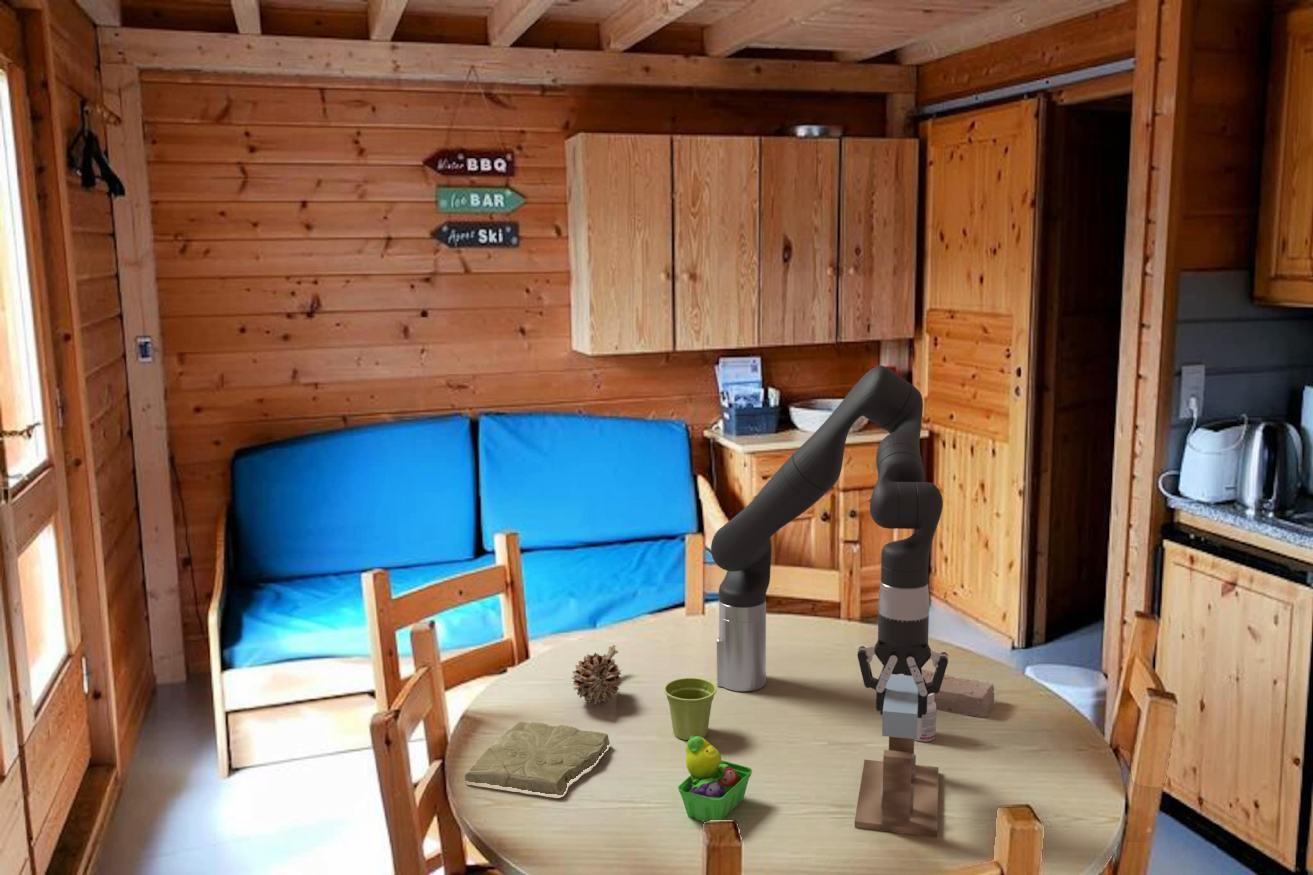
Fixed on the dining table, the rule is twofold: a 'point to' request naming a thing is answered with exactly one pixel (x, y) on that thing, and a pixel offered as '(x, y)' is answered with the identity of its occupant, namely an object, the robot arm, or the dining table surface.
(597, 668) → the pine cone
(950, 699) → the brick
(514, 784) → the decorative tile
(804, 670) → the dining table surface
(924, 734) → the pill bottle
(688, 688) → the plant pot
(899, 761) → the peg stand
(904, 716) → the block
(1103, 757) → the dining table surface
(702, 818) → the fruit basket
